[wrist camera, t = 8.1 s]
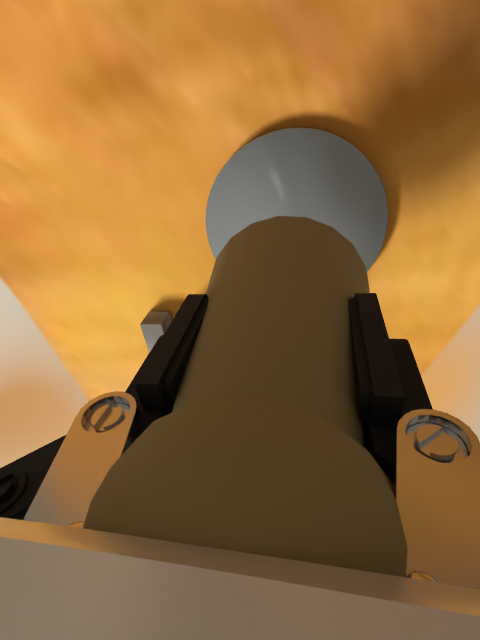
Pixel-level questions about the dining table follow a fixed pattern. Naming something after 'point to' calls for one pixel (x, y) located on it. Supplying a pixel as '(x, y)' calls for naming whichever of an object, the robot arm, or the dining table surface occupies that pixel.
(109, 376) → the dining table surface
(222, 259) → the pepper mill
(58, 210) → the dining table surface
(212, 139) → the dining table surface
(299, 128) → the coaster
